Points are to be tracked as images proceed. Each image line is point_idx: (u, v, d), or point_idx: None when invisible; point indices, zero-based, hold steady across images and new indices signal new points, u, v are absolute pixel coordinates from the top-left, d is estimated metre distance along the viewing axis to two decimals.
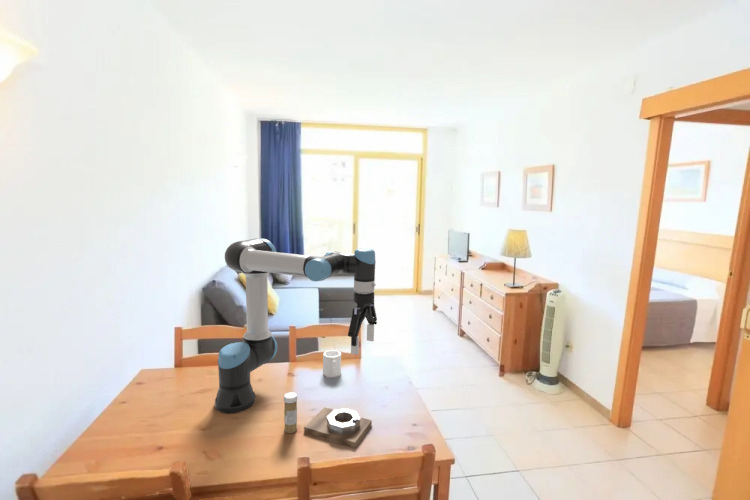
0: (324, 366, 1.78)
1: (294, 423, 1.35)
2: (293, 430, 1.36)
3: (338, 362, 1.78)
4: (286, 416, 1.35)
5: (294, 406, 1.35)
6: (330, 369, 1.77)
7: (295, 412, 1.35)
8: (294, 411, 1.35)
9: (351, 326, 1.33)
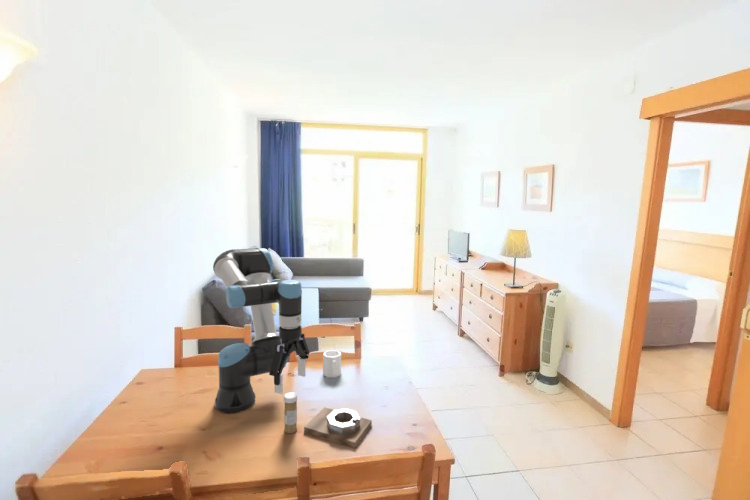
0: (324, 366, 1.78)
1: (294, 423, 1.35)
2: (293, 430, 1.36)
3: (338, 362, 1.78)
4: (286, 416, 1.35)
5: (294, 406, 1.35)
6: (330, 369, 1.77)
7: (295, 412, 1.35)
8: (294, 411, 1.35)
9: (273, 364, 1.25)
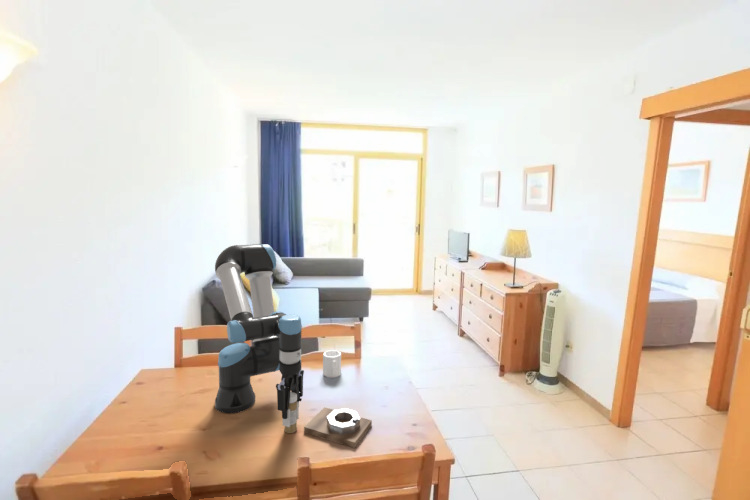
0: (324, 366, 1.78)
1: (294, 423, 1.35)
2: (293, 430, 1.36)
3: (338, 362, 1.78)
4: None
5: (294, 406, 1.35)
6: (330, 369, 1.77)
7: (295, 412, 1.35)
8: (294, 411, 1.35)
9: (278, 401, 1.30)
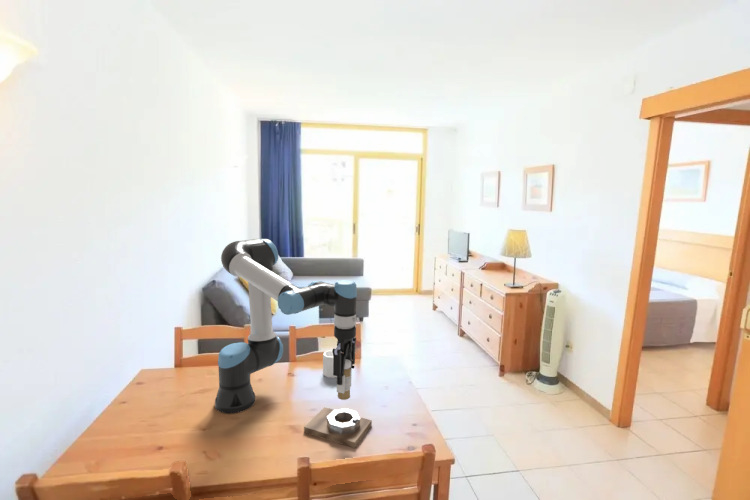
0: (324, 366, 1.78)
1: (348, 390, 1.34)
2: (347, 397, 1.34)
3: None
4: None
5: (348, 372, 1.33)
6: (330, 369, 1.77)
7: (349, 378, 1.34)
8: (348, 378, 1.34)
9: (335, 366, 1.29)
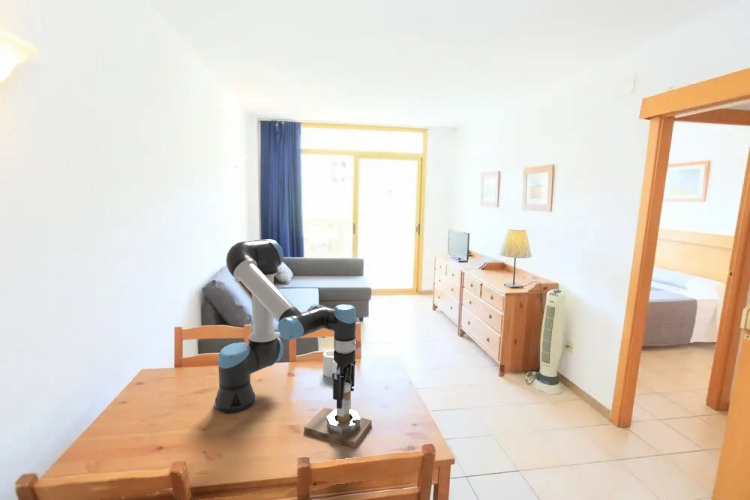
0: (324, 366, 1.78)
1: (348, 413, 1.36)
2: (347, 420, 1.36)
3: None
4: None
5: (348, 396, 1.35)
6: (330, 369, 1.77)
7: (349, 402, 1.35)
8: (348, 401, 1.35)
9: (334, 391, 1.30)
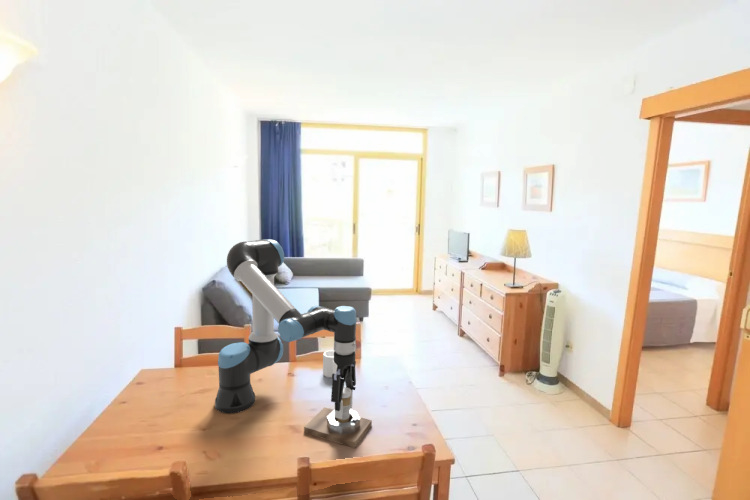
0: (324, 366, 1.78)
1: (347, 418, 1.36)
2: None
3: None
4: None
5: (348, 401, 1.35)
6: (330, 369, 1.77)
7: (349, 407, 1.36)
8: (348, 406, 1.35)
9: (333, 392, 1.29)
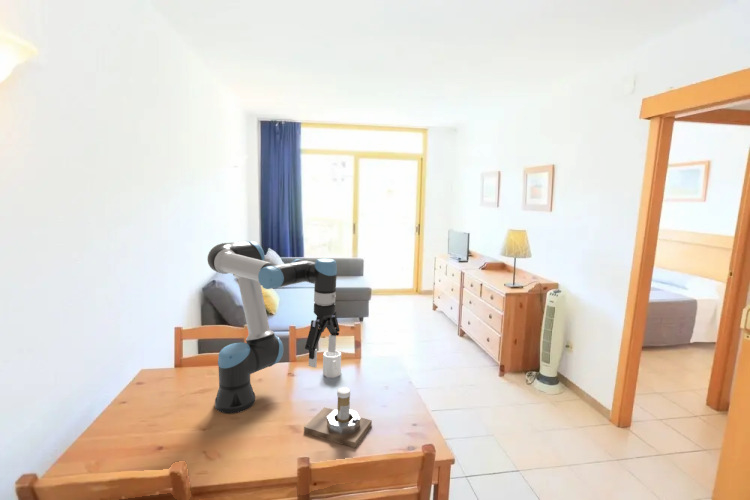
0: (324, 366, 1.78)
1: (347, 418, 1.36)
2: None
3: (338, 362, 1.78)
4: (340, 411, 1.35)
5: (348, 401, 1.35)
6: (330, 369, 1.77)
7: (348, 407, 1.36)
8: (347, 406, 1.35)
9: (309, 339, 1.30)
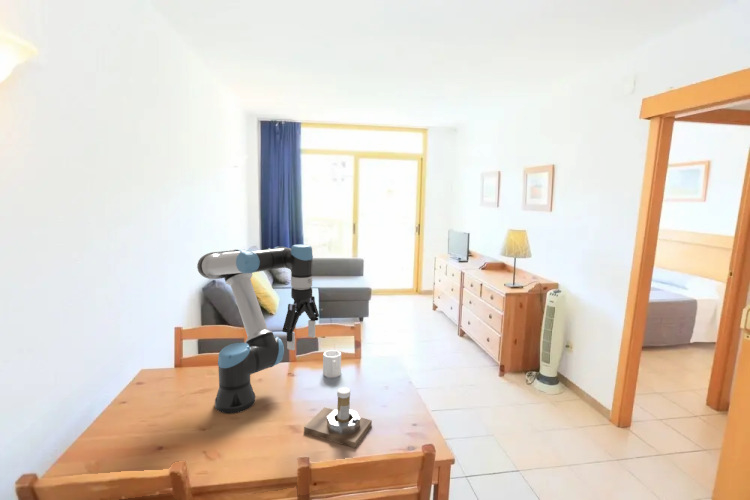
0: (324, 366, 1.78)
1: (347, 418, 1.36)
2: None
3: (338, 362, 1.78)
4: (340, 411, 1.35)
5: (348, 401, 1.35)
6: (330, 369, 1.77)
7: (348, 407, 1.36)
8: (347, 406, 1.35)
9: (286, 322, 1.34)
